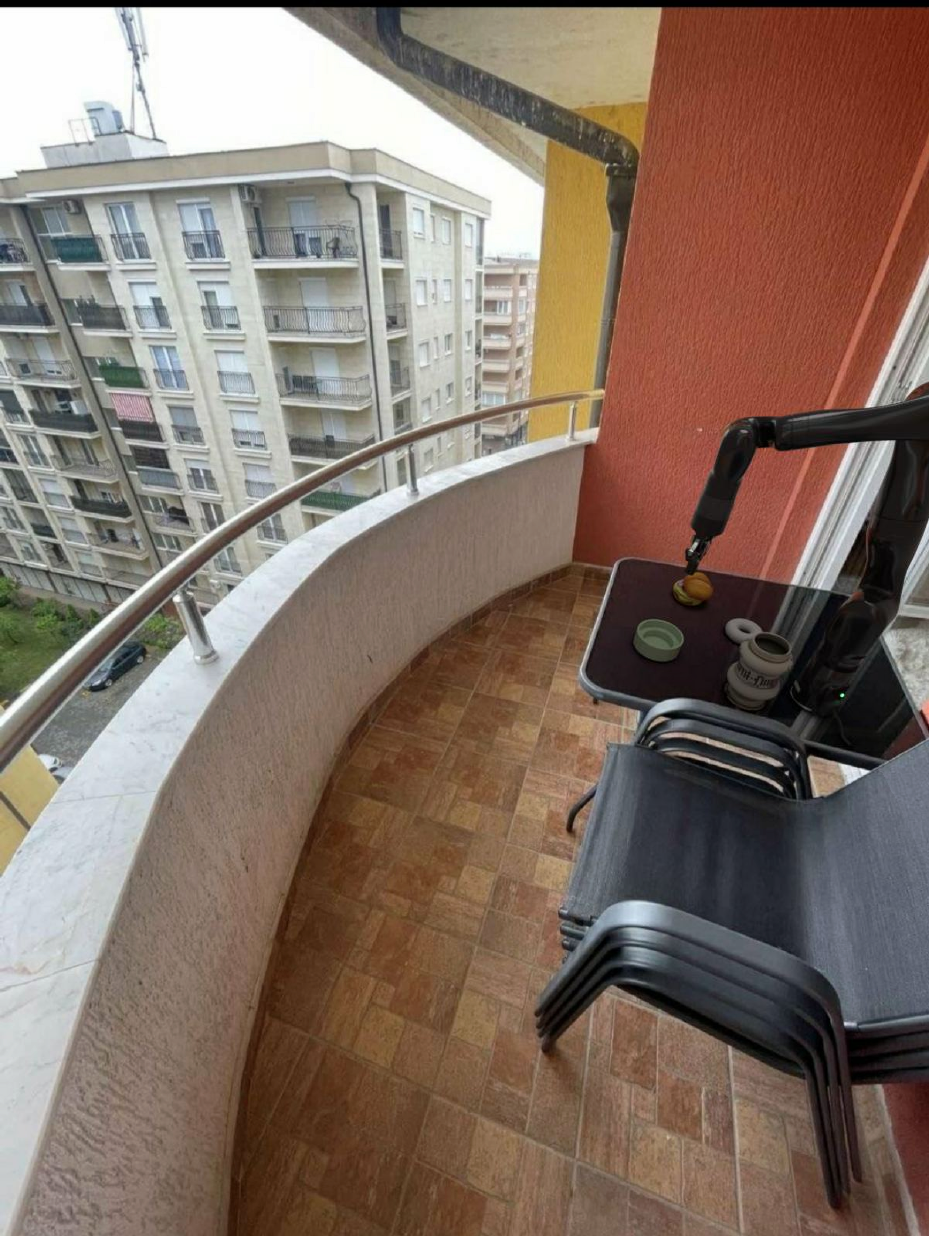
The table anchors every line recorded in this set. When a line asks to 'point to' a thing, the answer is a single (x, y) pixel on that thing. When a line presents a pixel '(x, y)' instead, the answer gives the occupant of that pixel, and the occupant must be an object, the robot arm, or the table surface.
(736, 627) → the donut
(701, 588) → the cheeseburger
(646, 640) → the bowl
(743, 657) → the apothecary jar
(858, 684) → the table surface
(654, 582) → the table surface
